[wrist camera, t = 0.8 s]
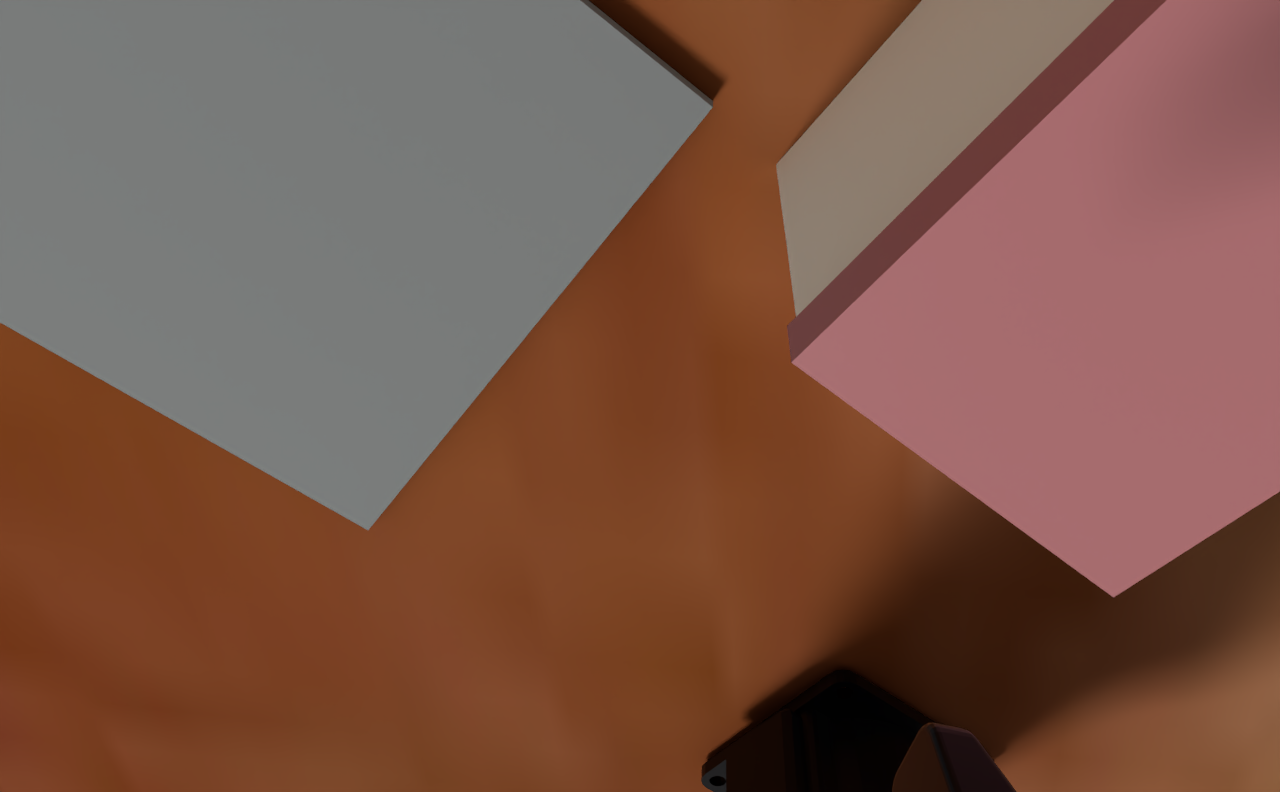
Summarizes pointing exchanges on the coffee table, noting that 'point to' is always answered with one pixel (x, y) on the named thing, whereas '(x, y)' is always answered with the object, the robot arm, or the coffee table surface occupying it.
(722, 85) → the coffee table surface
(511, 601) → the coffee table surface
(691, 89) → the mat
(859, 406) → the pink-topped box
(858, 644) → the coffee table surface
